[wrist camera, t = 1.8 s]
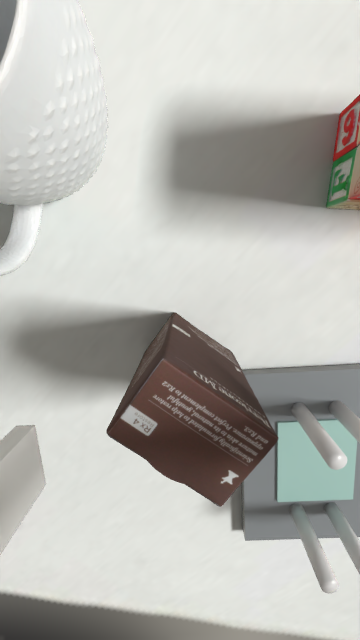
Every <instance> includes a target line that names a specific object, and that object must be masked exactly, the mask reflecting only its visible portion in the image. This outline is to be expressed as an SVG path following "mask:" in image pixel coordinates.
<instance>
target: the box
mask: <svg viewBox="0 0 360 640" xmlns="http://www.w3.org/2000/svg"><path fill="white" fill-rule="evenodd" d="M107 434H108V436H109V437H111V438H112V439H114V440H115V441H117V442H119V443H120V444H122V445H123V446H125V447H126V448H128V449H130V450H131V451H133V452H135V453H136V454H138V455H140V456H141V457H143V458H144V459H146V460H147V461H148V462H149V463H150V464H151V465H152V466H153V467H154V468H155V469H156V470H157V471H159V472H160V473H161V474H163V475H164V476H166V477H168V478H170V479H171V480H174V481H177V482H179V483H183V484H185V485H187V486H188V487H190V488H192V489H193V490H195V491H196V492H198V493H199V494H201V495H202V496H204V497H205V498H207V499H209V500H210V501H212V502H213V503H214V504H216V505H217V506H220V507H221V506H222V505H224V503H225V502H226V501H227V500H228V498H229V497H230V496H231V495H232V494H233V493H234V491H235V490H236V489H237V488H238V487H239V485H240V484H241V483H242V482H243V481H244V480H245V479H246V478H247V476H248V475H249V474H250V473H251V472H252V471H253V470H254V468H255V467H256V466H257V465H258V464H259V463H260V462H261V461H262V459H263V458H264V457H265V456H266V455H267V454H268V452H269V451H270V450H271V449H272V448H273V446H274V445H275V444H276V442H277V441H278V439H279V438H278V436H277V434H276V433H275V431H274V429H273V428H272V426H271V424H270V422H269V420H268V418H267V417H266V415H265V413H264V411H263V409H262V407H261V405H260V404H259V402H258V399H257V398H256V396H255V394H254V392H253V390H252V388H251V387H250V385H249V383H248V381H247V379H246V377H245V375H244V373H243V372H242V369H241V368H240V366H239V364H238V362H237V360H236V358H235V357H234V355H233V353H232V352H231V351H230V350H228V349H227V348H225V347H224V346H222V345H221V344H219V343H218V342H216V341H215V340H213V339H212V338H210V337H209V336H208V335H206V334H205V333H203V332H202V331H200V330H199V329H197V328H196V327H194V326H193V325H192V324H190V323H189V322H188V321H186V320H185V319H183V318H182V317H181V316H180V315H178V314H177V313H173V314H172V315H171V317H170V318H169V319H168V321H167V322H166V324H165V325H164V326H163V328H162V329H161V330H160V332H159V333H158V335H157V336H156V337H155V339H154V340H153V341H152V343H151V344H150V346H149V347H148V348H147V350H146V351H145V353H144V355H143V358H142V360H141V362H140V364H139V366H138V368H137V370H136V372H135V374H134V377H133V379H132V380H131V383H130V385H129V386H128V389H127V391H126V393H125V395H124V397H123V399H122V401H121V403H120V405H119V407H118V409H117V411H116V413H115V415H114V417H113V419H112V421H111V423H110V424H109V426H108V428H107Z"/></svg>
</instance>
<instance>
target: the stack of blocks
mask: <svg viewBox="0 0 360 640" xmlns="http://www.w3.org/2000/svg"><path fill="white" fill-rule="evenodd" d="M326 207H327V208H337V209H354V210H360V95H359V96H358V97H357V98H356V99H355V100H354V101H353V102H352V103H351V104H350V105H349V106H348V107H346V108H345V109H344V110H343V111H342V112H341V114H340V116H339V122H338V129H337V136H336V142H335V149H334V156H333V167H332V173H331V180H330V186H329V192H328V199H327V204H326Z"/></svg>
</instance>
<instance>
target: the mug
mask: <svg viewBox="0 0 360 640" xmlns="http://www.w3.org/2000/svg"><path fill="white" fill-rule="evenodd" d="M106 102H107V96H106V92H105V89H104V78H103V75H102V72H101V67H100V60H99V57H98V55H97V53H96V50H95V46H94V39H93V36H92V34H91V32H90V30H89V28H88V25H87V21H86V17H85V14H84V12H83V10H82V8H81V6H80V4H79V1H78V0H0V203H2V204H6V205H12V204H14V211H13V219H12V224H11V228H10V232H9V235H8V238H7V240H6V242H5V244H4V245H3V247H2V248H1V249H0V276H2V275H5V274H8V273H11V272H12V271H14V270H16V269H17V268H19V267H20V266H21V265H22V264H23V263H24V262H25V261H26V260H27V259H28V257H29V256H30V254H31V252H32V250H33V248H34V245H35V242H36V239H37V236H38V232H39V228H40V223H41V216H42V210H43V203H49V202H52V201H55V200H60V199H63V198H64V197H68V196H69V195H72V194H73V193H74V192H76V191H79V190H80V188H82V187H83V185H85V184H86V183H88V181H89V180H90V178H91V177H92V176H93V174H94V173H95V172H96V171H97V167H98V166H99V164H100V162H101V161H102V155H103V154H104V152H105V144H106V140H107V129H108V120H107V118H108V109H107V105H106Z"/></svg>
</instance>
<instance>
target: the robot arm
mask: <svg viewBox="0 0 360 640" xmlns="http://www.w3.org/2000/svg"><path fill="white" fill-rule="evenodd" d="M45 485H46V482H45V476H44V471H43V466H42V460H41V455H40V450H39V444H38V439H37V434H36V428H35V425H26V426H16V427H15V428H14V429H13V430H12V431H10V432H9V433H8V434H7V435H6V436H5V437H4V438H3V439H2V440H1V441H0V555H1V553H2V552H3V550H4V549H5V547H6V545H7V544H8V542H9V541H10V539H11V538H12V536H13V535H14V533H15V532H16V530H17V528H18V527H19V525H20V524H21V522H22V521H23V519H24V518H25V516H26V515H27V513H28V511H29V510H30V508H31V507H32V505H33V504H34V502H35V501H36V499H37V498H38V496H39V494H40V493H41V491H42V490H43V488H44V487H45Z"/></svg>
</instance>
